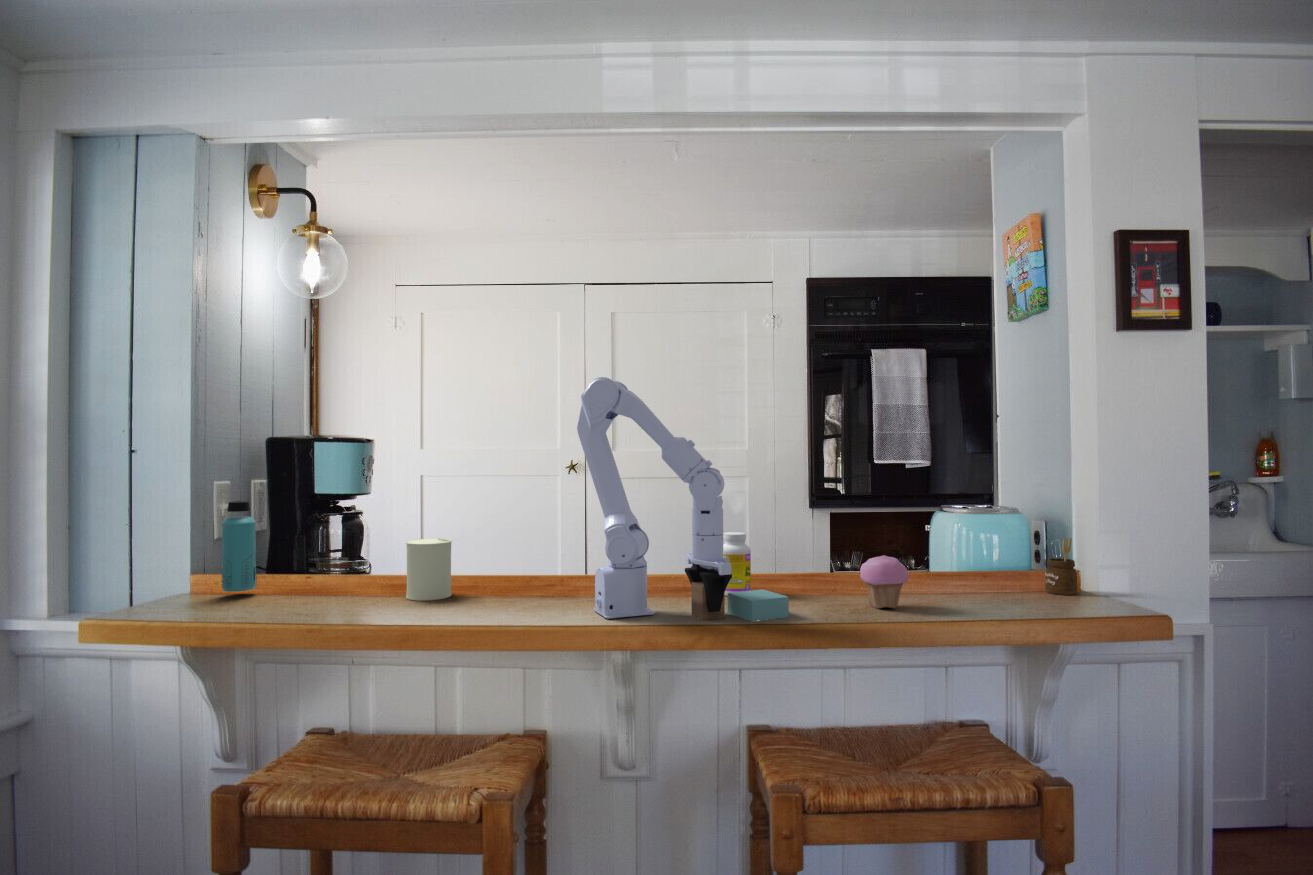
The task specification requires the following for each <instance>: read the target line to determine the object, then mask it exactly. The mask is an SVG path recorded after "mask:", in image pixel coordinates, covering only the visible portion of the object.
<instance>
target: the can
mask: <svg viewBox="0 0 1313 875" xmlns="http://www.w3.org/2000/svg"><path fill="white" fill-rule="evenodd" d="M452 541H453V540H451V539H447V538H421V539H412V540H407V541H406V542H405V544H406V593H405V594H406V595H405V599H407V600H409V601H416V602H418V601H420V602H423V601H425V602H426V601H427V602H428V601H437V600H438V601H439V600H443V599H447V598H450V597H452V595H453V593H452Z"/></svg>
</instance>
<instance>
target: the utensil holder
mask: <svg viewBox="0 0 1313 875" xmlns="http://www.w3.org/2000/svg"><path fill="white" fill-rule="evenodd" d="M1054 541H1055V542H1054ZM1057 541H1058V544H1059V547H1061V544H1062V550H1059V552H1060V553H1059V554H1060V556H1059V557H1058V556H1057V554H1055V555H1054V553H1053V552H1054V551H1053V550H1052V554H1053V555H1052V556H1055V557H1050V558H1047V559H1046V566H1047V567H1046V568H1045V570H1044V572H1045V573H1044V574H1045V577H1044V582H1045V584H1044V585H1045V591H1046V593H1048V594H1052V595H1056V596H1057V595H1058V596H1073V595H1074V596H1075V595H1077V592H1078V573H1077V569H1076V568H1075V567H1076V561H1075V560H1074V559H1070V558H1067V556H1068V555H1067V554H1069V553H1070V552H1071V548H1072V538H1071V537H1070V538H1069V537H1067V538H1066V537H1063V541H1062V542H1061V540H1060V539H1058V540H1056V539H1055V540H1054V539H1053V541H1052V542H1051V544H1053V542H1054V543H1056V542H1057ZM1060 542H1061V544H1060ZM1054 547H1055V548H1054V550H1055V552H1057V549H1056V546H1054ZM1061 552H1062V553H1063V554H1061ZM1061 555H1064V556H1062V558H1061ZM1063 557H1064V558H1063Z"/></svg>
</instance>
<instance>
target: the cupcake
mask: <svg viewBox="0 0 1313 875" xmlns="http://www.w3.org/2000/svg"><path fill="white" fill-rule="evenodd" d="M859 572H860V573H859V576H860V577H859V578H860V579H861V580H862V581H863V582H864V583H865V584H866V587H867V594H868V602H869V604H870V606H872V607H873V608H875V609H877V610H878V609H883V608H889V609H896V608H898V604H899V601H900V597H901V592H902V588H903V585H904V584H905V583H907V582H908V580H909V571H908V569H907V566H905V565H904V564H903V563H902V562H900V560H899V558H896V557H893V556H888V555H884V554H883V555H880V556H875V557H872V558H869V559H867V560H866V561H865V562H864V563H862V564H861V566H860V570H859Z"/></svg>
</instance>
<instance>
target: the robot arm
mask: <svg viewBox="0 0 1313 875" xmlns="http://www.w3.org/2000/svg"><path fill="white" fill-rule="evenodd" d="M580 398H581V399H580V401H581V407H580V412H579V416H578V420H577V424H576V425H577V426H576V429H577V435H578V438H579V441H580V444H581V447H582V450H583V451H582V452H583V454H584V457H585V461H586V463H587V466H588V470H589V473H590V476H591V479H592V482H593V485H594V488H595V491H596V495H597V497H598V500H599V503H600V507H601V510H602V513H603V516H604V526H603V528H604V530H603V532H604V535H605V546H604V548H605V554H606V558H608V565H607V566H600V567H598V568H597V569H596V571H595V576H594V577H595V578H594V607H593V611H594V612H595V613H597V614H599V615H600V616H602V617H603V618H605V619H606V620H607V619H618V618H619V619H620V618H629V617H630V618H631V617H641V616H650V615H655V613H656V612H655V611H654V610H652V609H651V608H648V562H647V560H646V559H645V555H646V554H647V552H648V551H649V546H650V539H649V537H648V534H647V533H646V532H645V531H644V529H642V527H640V524H639V521H638V519H637V517H636V515H635V514H634V513H633V512H632V509H631V507H630V503H629V500H628V498H627V493H626V491H625V488H624V485H623V482H622V479H621V475H620V473H619V470H618V466H617V463H616V460H615V457H614V454H613V451H612V448H611V444H610V442H609V439H608V436H607V431H609V430H608V429H609V428H610V427H611V424H612V423H613V421H614V419H615V418H616V417H618V416H622V417H626V418H629V419H631V420H632V421H634V423H635V424H637V425H638V426H639V427H640V429H642V430H643V431H644V432H645V433H646V434H647V435H648V436H649V437H650V438H651V439H652V440H653V441H654V442H655V443H656V444H657V446H659V447H660V448H661V459H662V460H663V461H664V462H665V464H666V465H667V466H668V467H669V468H670V469H671V470H672V471H673V473H675V474H676V475H677V477H679V479H680V480H681V481H682V482H684V483H685V484H686V483H687V484H689V485H688V490H689V492H690V495H692V508H691V547H692V548H691V552H690V553H687V552H686V564H687V565H691V566H690V567H685V568H684V572H685V575H686V576H687V578H688V581H689V583H690V585H691V587H692V582H703V584H704V588H705V592H706V601H707V608H708V611H709V612H718V611H720V609H721V605H722V601H723V597H724V593H725V590H726V587H727V585H728V583H729V581H730V580H731V578H732V573H731V563H728V562H727V561H729V558H728V557H725V556H723V545H724V508H723V505H724V504H723V502H724V501H723V495H722V493H723V491H724V489H725V479H724V477H723V475H722V474H721V472H720V470H719V469H718V468H714V467H711V466H712V465H713V463H712V461H711V460H708V459H707V460H706V458H704V456H702V455H701V453H699V451H698V450H697V449H696V448H695V445H696V443H695V442H694V441H693V440H692V439H686V438H685V437H684V436H674V435H673V433H672V432H671V431H669V428H667V427H666V426H665V425H664V424H663V422H662V421H661V420H660V418H658V416H656V414H655V413H654V412H653V411H652V410H651V409H650V408H649V407H648V405H646V403H645V402H644V401H643V400H642V399H641V398H640V397H639V396H637V394H635V393H634V392H633V391H631V390H629V388H627V386H626V385H625V384H624V383H622V382H621V381H615V380H612V379H611V378H609V377H606V376H600V377H595V378H594V379H592V380H591V381H589V383H588V384H587V386H586V387H585V389H584V391H583V392H582V393H581V396H580Z"/></svg>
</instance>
